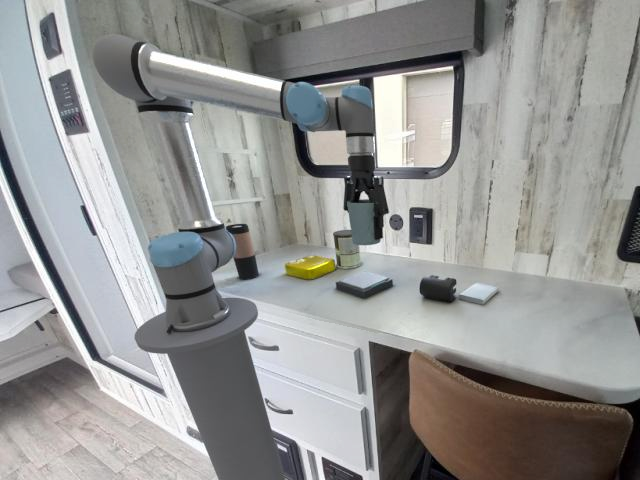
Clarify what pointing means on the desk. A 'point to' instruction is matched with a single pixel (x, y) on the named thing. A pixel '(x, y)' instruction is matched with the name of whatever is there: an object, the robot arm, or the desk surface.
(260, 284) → the desk surface
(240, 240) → the travel mug
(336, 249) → the coffee can
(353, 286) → the scale
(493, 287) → the hard drive
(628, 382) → the desk surface
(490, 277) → the desk surface
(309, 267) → the element tile
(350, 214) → the grey-blue cup
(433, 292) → the end cap
